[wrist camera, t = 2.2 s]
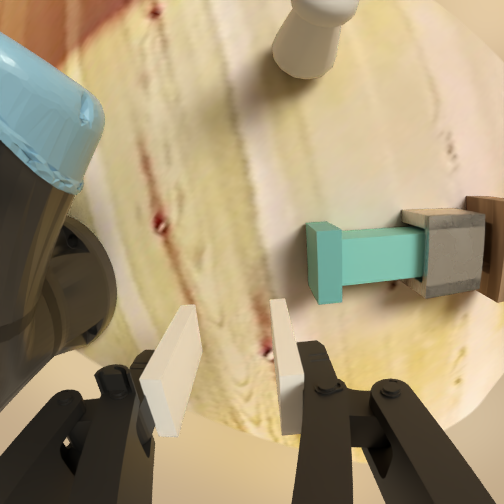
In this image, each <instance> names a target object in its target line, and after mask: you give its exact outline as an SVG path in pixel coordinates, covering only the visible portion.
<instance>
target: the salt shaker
mask: <svg viewBox="0 0 504 504" xmlns="http://www.w3.org/2000/svg"><path fill="white" fill-rule="evenodd" d="M291 3H292V7H293V9H292V10H291V12H290V13H289V15H288V17H287V18H286V20H285V21H284V23H283V25H282V26H281V28H280V29H279V31H278V33H277V34H276V37H275V39H274V41H273V44H272V51H273V58H274V60H275V62H276V63H277V64H278V66H279V67H280V69H281V70H283V71H284V72H286V73H288V74H289V75H291V76H292V77H295V78H302V79H312V78H317V77H321V76H323V75H324V74H325V73H326V72H328V71H329V70H330V69H331V68H332V67H333V64H334V62H335V59H336V56H337V50H338V44H339V38H340V32H341V25H343V24H345V23H346V22H347V21H349V20H350V19H351V18H352V17H353V16H354V15H355V12H356V10H357V7H358V3H359V0H291Z"/></svg>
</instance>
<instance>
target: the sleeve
mask: <svg viewBox="0 0 504 504" xmlns="http://www.w3.org/2000/svg"><path fill="white" fill-rule="evenodd" d="M402 222H404V223H408V224H411V225H414V226H417V227H421V228H424V229H425V245H424V267H423V276H421V277H414V278H406V279H400V281H402V282H403V283H405V284H406V285H407V286H409V287H410V288H411V289H413V290H414V291H415V292H417V293H418V294H419V295H421V296H422V297H424V298H425V299H427V298H433V297H439V296H444V295H450V294H456V293H461V292H466V291H471V290H476V289H480V282H481V273H482V264H483V252H484V237H485V214H482V213H477V212H472V211H467V210H462V209H456V208H440V209H410V210H402Z"/></svg>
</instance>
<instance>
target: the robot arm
mask: <svg viewBox="0 0 504 504" xmlns="http://www.w3.org/2000/svg"><path fill="white" fill-rule="evenodd" d="M104 125H105V115H104V111H103V108H102V105H101V103H100V102H99V100H98V99H97V98H96V97H95V96H94V95H93V94H92V93H90V92H89V91H88V90H86V89H85V88H84V87H82V86H81V85H79V84H78V83H77V82H75V81H74V80H72V79H71V78H69V77H68V76H67V75H65V74H64V73H62V72H61V71H59V70H58V69H56V68H55V67H54V66H52V65H51V64H49V63H48V62H46V61H45V60H43V59H42V58H40V57H39V56H37V55H36V54H34V53H33V52H31V51H30V50H28V49H27V48H25V47H23V46H22V45H20V44H19V43H17V42H16V41H14V40H13V39H11V38H9V37H8V36H6V35H4V34H3V33H1V32H0V412H1V411H2V410H3V409H4V408H5V406H6V405H7V404H8V403H9V402H10V401H11V400H12V399H13V398H14V397H15V396H16V395H17V394H18V393H19V391H20V390H21V389H22V388H23V387H24V386H25V385H26V384H27V383H28V382H29V381H30V380H31V379H32V378H33V377H34V376H35V375H36V374H37V373H38V372H39V371H40V370H41V369H42V368H43V367H44V366H45V365H46V363H48V362H49V361H50V360H51V359H52V358H53V357H54V356H56V355H58V354H62V353H65V352H68V351H72V350H75V349H78V348H81V347H84V346H86V345H88V344H89V343H91V342H93V341H94V340H95V339H96V338H97V337H98V336H99V335H100V334H101V333H102V332H103V331H104V330H105V329H106V327H107V326H108V324H109V323H110V321H111V319H112V317H113V314H114V311H115V307H116V299H117V288H116V280H115V275H114V271H113V267H112V265H111V262H110V259H109V257H108V255H107V253H106V251H105V249H104V247H103V246H102V244H101V243H100V241H99V240H98V239H97V237H96V236H95V235H94V234H93V233H92V232H91V231H90V230H89V229H88V228H87V227H86V226H85V225H83V224H82V223H80V222H79V221H77V220H75V219H73V218H71V217H68V216H67V213H68V211H69V208H70V206H71V204H72V201H73V199H74V197H75V195H77V194H78V193H80V191H81V190H82V188H83V185H84V181H83V177H84V175H85V172H86V170H87V168H88V165H89V163H90V160H91V158H92V156H93V154H94V151H95V149H96V147H97V145H98V143H99V140H100V138H101V136H102V133H103V130H104ZM270 313H271V328H272V344H273V354H274V364H275V373H276V383H277V392H278V402H279V411H280V421H281V431H282V435H293V434H301V438H300V446H299V455H298V462H297V469H296V477H295V484H294V490H293V498H292V504H353V478H352V453H351V447H362V450H363V453H364V455H365V457H366V460H367V462H368V464H369V466H370V469H371V471H372V473H373V475H374V478H375V480H376V482H377V485H378V487H379V489H380V492H381V494H382V496H383V499H384V501H385V503H386V504H496V503H495V502H494V500H493V499H492V497H491V496H490V494H489V493H488V491H487V490H486V489H485V488H484V486H483V484H482V483H481V481H480V480H479V479H478V477H477V476H476V474H475V473H474V472H473V470H472V469H471V467H470V466H469V465H468V464H467V462H466V461H465V459H464V458H463V456H462V455H461V454H460V452H459V451H458V450H457V448H456V447H455V445H454V444H453V443H452V441H451V440H450V439H449V437H448V436H447V435H446V434H445V432H444V431H443V429H442V428H441V427H440V425H439V424H438V423H437V421H436V420H435V419H434V418H433V416H432V415H431V414H430V412H429V411H428V410H427V408H426V407H425V406H424V405H423V403H422V402H421V401H420V399H419V398H418V397H417V396H416V394H415V393H414V392H413V390H412V389H411V388H410V387H409V385H407V384H406V383H405V382H403V381H400V380H398V379H383V380H381V381H378V382H376V383H375V384H374V385H373V386H372V388H371V391H359V390H352V389H349V388H347V387H346V385H345V383H344V382H343V381H341V380H340V379H337V376H336V374H335V371H334V369H333V366H332V364H331V361H330V360H329V356H328V354H327V351H326V349H325V347H324V345H322V344H321V343H320V342H318V341H317V340H316V341H307V342H297V343H296V340H295V336H294V332H293V328H292V324H291V320H290V316H289V312H288V308H287V304H286V301H285V298H283V299H271V300H270ZM202 352H203V350H202V344H201V338H200V332H199V326H198V320H197V314H196V307H195V305H181V306H180V307H179V309H178V311H177V312H176V314H175V316H174V318H173V319H172V321H171V323H170V325H169V327H168V328H167V330H166V332H165V334H164V335H163V337H162V339H161V341H160V342H159V344H158V346H157V348H156V350H145V351H143V352H142V353H140V354H139V355H138V356H137V357H136V359H135V360H134V362H133V364H132V365H131V366H130V369H128V367H126V366H124V365H116V364H115V365H109V366H106V367H103V368H101V369H100V370H98V371H97V372H96V373H95V375H94V376H95V378H96V381H97V384H98V387H99V389H100V392H101V397H100V398H98V399H90V400H83V398H82V396H81V394H80V393H79V392H78V391H75V390H63V391H61V392H58V393H57V394H55V395H54V396H53V397H52V398H51V399H50V400H49V401H48V402H47V403H46V404H45V406H44V407H43V408H42V409H41V410H40V411H39V412H38V414H37V415H36V416H35V417H34V418H33V419H32V420H31V421H30V422H29V424H28V425H27V426H26V427H25V428H24V429H23V430H22V432H21V433H20V434H19V435H18V436H17V437H16V438H15V440H14V441H13V442H12V443H11V444H10V445H9V447H8V448H7V449H6V450H5V451H4V453H3V454H2V455H1V456H0V504H152V483H153V466H154V465H153V464H154V451H155V450H154V449H155V441H154V438H153V436H152V433H153V429H154V427H156V430H157V432H158V435H159V436H165V437H178V436H179V432H180V429H181V425H182V422H183V418H184V414H185V411H186V408H187V404H188V401H189V397H190V393H191V390H192V386H193V383H194V379H195V376H196V373H197V369H198V366H199V362H200V359H201V355H202ZM66 437H67V438H68V440H69V442H70V444H69V445H68V446H67V447H66V446H65V445H64V443H63V442H64V440H65V439H66Z"/></svg>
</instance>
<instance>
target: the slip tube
mask: <svg viewBox="0 0 504 504" xmlns="http://www.w3.org/2000/svg"><path fill="white" fill-rule="evenodd" d="M306 239H307V262H308V285H309V287H310V289H311V291H312V293H313V295H314V297H315V299H316V301H317V303H318V305H320V304H330V303H339V302H342V286H345V285H354V284H363V283H372V282H381V281H390V280H398V279H406V278H414V277H421V276H423V267H424V245H425V229H424V228H421V227H417V226H411V227H395V228H379V229H364V230H349V231H342V230H341V229H339V228H338V227H336V226H334V225H332V224H330V223H328V222H327V221H326V222H311V223H306Z"/></svg>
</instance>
